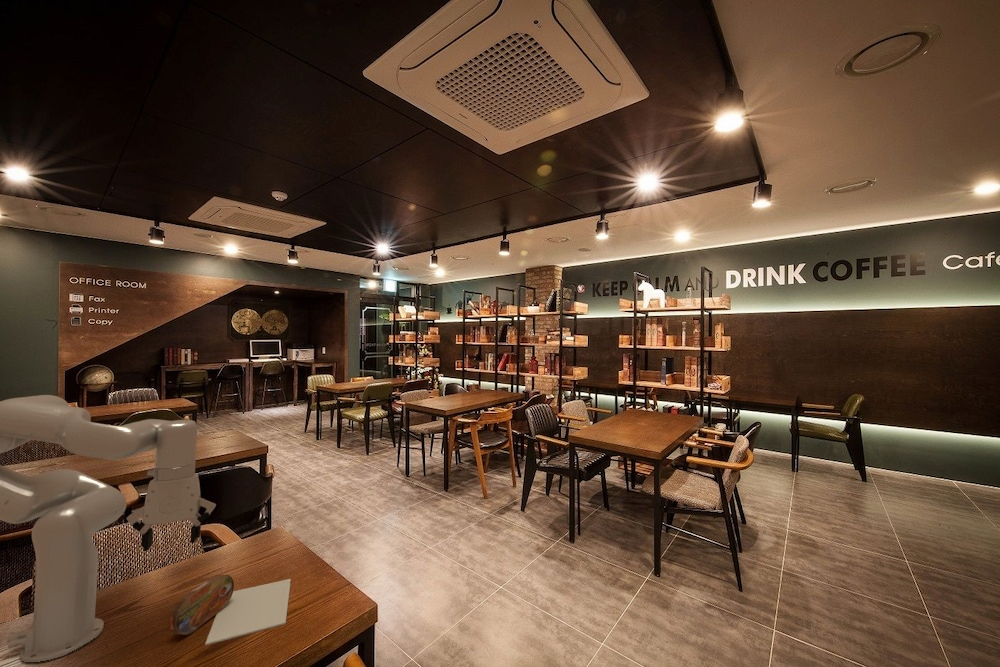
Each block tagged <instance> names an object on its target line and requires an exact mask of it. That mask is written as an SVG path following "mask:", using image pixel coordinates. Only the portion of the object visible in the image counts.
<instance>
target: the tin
mask: <svg viewBox="0 0 1000 667" xmlns="http://www.w3.org/2000/svg"><path fill="white" fill-rule="evenodd" d="M234 588H235V582H234V579H233V577H232V576H231V575H229V574H217V575H215V576H211V577H210V578H209V579H207V580H206V581H204V582H202V583H201V584H200V585H197V586H196V587H195V588H194V589H192V590H191V591H189V592H188V593H186V594H184V595H183V596H181V598H180V599H179V600H178V601H177V602H176V603H175V604H174V605H173V607H172V610H171V611H170V613H169V616H168V617H169V618H168V626H169V629H170V632H171V633H173V634H176V635H181V636H182V635H183V636H186V635H190V634H192V633H194V632H195V631H196V630H198V629H199V628H200V627H202V626H203V625H204V624H205V623H207V622H208V621H209V620H211V619H212V618H214V616H216V615H217V613H218V612H220V611H221V610H222V609H223V608H224V607H225V606H226V605H227V604H228V602H229V600H230V599H231V596H232V593H233V591H234Z"/></svg>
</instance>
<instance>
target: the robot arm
mask: <svg viewBox="0 0 1000 667" xmlns="http://www.w3.org/2000/svg"><path fill="white" fill-rule="evenodd" d="M91 418H92V417H91V413H90V412H89V411H88V410H87V409H86V408H83V407H78V406H71V405H70V404H69V403H68V402H67V401H66V400H65V399H63V397H60V396H57V395H51V394H41V395H31V396H23V397H13V398H8V399H4V400H1V401H0V454H2V453H5V452H6V453H7V452H9V451H10V450H11V451H12V450H14V449H16V448H18V447H19V446H22V445H24V444H26V443H28V442H30V441H39V442H45V443H51V444H58V445H60V446H61V447H62V448H63V449H65V450H67V451H68V452H70V453H72V454H75V455H77V456H80V457H81V456H82V457H87V458H94V459H101V460H113V461H116V460H117V461H118V460H124V459H128V458H131V457H134V456H136V455H139V454H142V453H145V452H149V451H152V450H155V464H154V465H155V466H154V467H153V468H152V469H148V470H147V472H146V475H147V476H152V477H153V479H151V480H150V481H149V484H148V487H147V491H146V495H145V501H144V504H143V506H142V507H140V508H139V509H136V511H134V512H132V513H131V514H128V516H127V517H126V520H127V521H128V523H129V524H130V525H131V527H132V528H133V529H134V530H136V531H138V532H139V533H138V534H140V535H141V540H140V543H141V544H140V546H141V547H143V552H147V551H149V549H150V548H151V547H152V546H153V540H154V536H153V535H154V529H153V528H152V526H154V525H155V526H156V525H162V524H171V523H177V522H182V521H183V522H184V521H190V522H191V523H192V526H191V529H190V544H195V543H196V541H197V540H198V538H200V537H201V531H202V530H201V529H202V528H201V526H202V523H203V522H204V521H205V520H206V519H207V518H209V516H210V515H211V513H212V512H213V511H214V509H215V508H216V506H217V504H216V503H215V502H212V501H209V500H206V499H205V498H203V497H201V486H200V484H201V483H200V479H199V475H198V473H196V453H197V440H198V439H197V437H198V436H197V435H198V424H197V423H196V421H195V420H190V419H177V420H165V419H156V418H155V419H154V418H147V419H143V420H139V421H134V422H131V423H127V424H126V423H125V424H123V425H110V424H106V423H105V424H104V423H99V422H93V421H91V420H92V419H91ZM127 504H128V503H127V499H126V496H125V495H124V494H123V493H122V492H121V491H120V490H118V489H117V488H116V487H113V486H111V485H110V484H108V483H105V482H103V481H100V480H99V479H97V478H95V477H92V476H90V475H87V474H85V473H84V472H82V471H78V470H75V469H68V468H58V469H53V470H50V471H45V472H43V473H39V474H35V475H27V474H23V473H19V472H17V471H15V470H12V469H11V468H8V467H6V466H3V465H1V464H0V521H1V522H5V523H7V524H14V525H19V524H23V523H27V522H30V521H32V520H35V519H37V518H38V519H37V521H36V522H35V523H34V525H33V527H32V530H31V541H32V544H33V548H34V552H35V565H36V566H35V568H36V569H35V591H34V605H33V608H34V609H33V622H32V627H30V629H26V630H19V631H15V632H11V633H10V634H9V635H8V637H7V640H6V643H7V648H8V649H12V648H15V647H18V646H22V647H23V648H22V649H21V650H20V654H19V655H20V657H19V659H20V658H21V659H20V661H21V660H22V661H25V662H39V663H41V662H40V661H45V662H47V661H46V660H49V661H52V660H55V659H59V658H61V657H63V656H66V655H69V654H71V653H73V652H75V651H77V650H78V649H77V648H79V647H81V646H83V645H84V644H86V643H88V642H89V643H91V642H92V641H94V640H95V639H96V638H97V637H98V636H99V635H100V634H101V633H102V632H103V629H104V625H105V624H104V620H103V619H101V618H98V617H96V603H97V601H96V600H97V585H98V584H97V582H98V568H99V567H98V566H99V553H98V549H97V547H96V545H95V543H94V541H93V539H92V537H93V534H95V533H97V532H98V531H100V530H102V529H104V528H105V527H108V526H109V525H110V524H112V523H115V521H117V520H119V518H120V517H121V516H123V514H124V513H125V511H126V509H127ZM201 507H202V508H205V512H203V513H202V514H200V513H199V511H200V509H201ZM141 515H142V520H140V519H139V516H141ZM94 638H95V639H94ZM93 639H94V640H93ZM91 640H92V641H91ZM90 641H91V642H90ZM89 643H88V644H89ZM86 645H87V644H86ZM83 647H84V646H83ZM81 648H82V647H81ZM76 649H77V650H76ZM79 649H80V648H79ZM74 650H75V651H74ZM72 651H73V652H72ZM70 652H71V653H70ZM68 653H69V654H68ZM58 657H59V658H58ZM54 658H55V659H54ZM51 659H52V660H51ZM22 661H21V662H22ZM25 662H24V663H25Z"/></svg>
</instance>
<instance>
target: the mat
mask: <svg viewBox="0 0 1000 667" xmlns="http://www.w3.org/2000/svg"><path fill="white" fill-rule="evenodd" d="M291 581H292V579H291V578H287V579H283V580H279V581H273V582H269V583H265V584H261V585H256V586H252V587H247V588H242V589H238V590H233V593H232V596H231V599H230V600H229V602H228V604H227V605H226V606H225V607H224V608H223V609H222V610H221V611H220V612H218V613H217V614H216V615H215V617H214V619H213V623H212V626H211V628H210V630H209V633H208V635H207V638H206V641H205V646H208V645H212V644H216V643H219V642H224V641H227V640H231V639H232V640H233V639H235V638H238V637H239V638H240V637H242V636H247V635H250V634H254V633H258V632H261V631H265V630H269V629H273V628H276V627H280V626H283V625H286V623H287V616H288V615H287V614H288V607H289V601H290V597H289V596H290V591H291V590H290V589H291V583H290V582H291Z"/></svg>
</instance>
